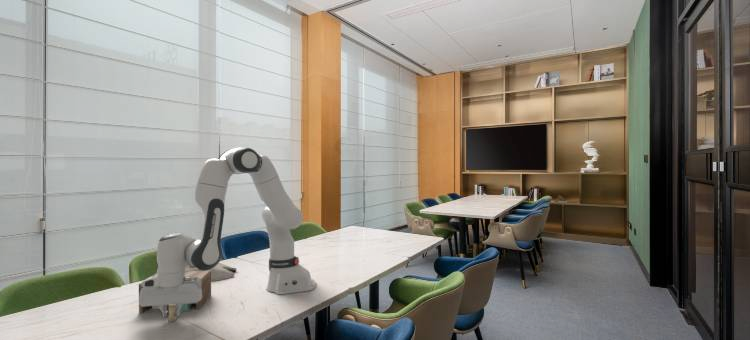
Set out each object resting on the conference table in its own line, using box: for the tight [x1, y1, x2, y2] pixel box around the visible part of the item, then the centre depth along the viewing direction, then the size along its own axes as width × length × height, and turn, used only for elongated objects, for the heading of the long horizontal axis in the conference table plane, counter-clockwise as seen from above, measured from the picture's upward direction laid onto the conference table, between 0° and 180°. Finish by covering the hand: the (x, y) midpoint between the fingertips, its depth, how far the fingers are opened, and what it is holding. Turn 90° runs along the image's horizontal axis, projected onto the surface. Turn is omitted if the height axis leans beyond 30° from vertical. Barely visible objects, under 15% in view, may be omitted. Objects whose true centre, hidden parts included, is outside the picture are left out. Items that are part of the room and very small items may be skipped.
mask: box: [185, 262, 238, 283], centre depth 173 cm, size 20×9×30 cm
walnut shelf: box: [138, 270, 212, 314], centre depth 137 cm, size 22×14×11 cm, turn 99°
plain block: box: [151, 305, 168, 310], centre depth 136 cm, size 6×6×5 cm
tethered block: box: [168, 303, 193, 323], centre depth 128 cm, size 6×14×6 cm, turn 13°
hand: (171, 315), depth 122 cm, fingers closed on tethered block, 2 cm apart
